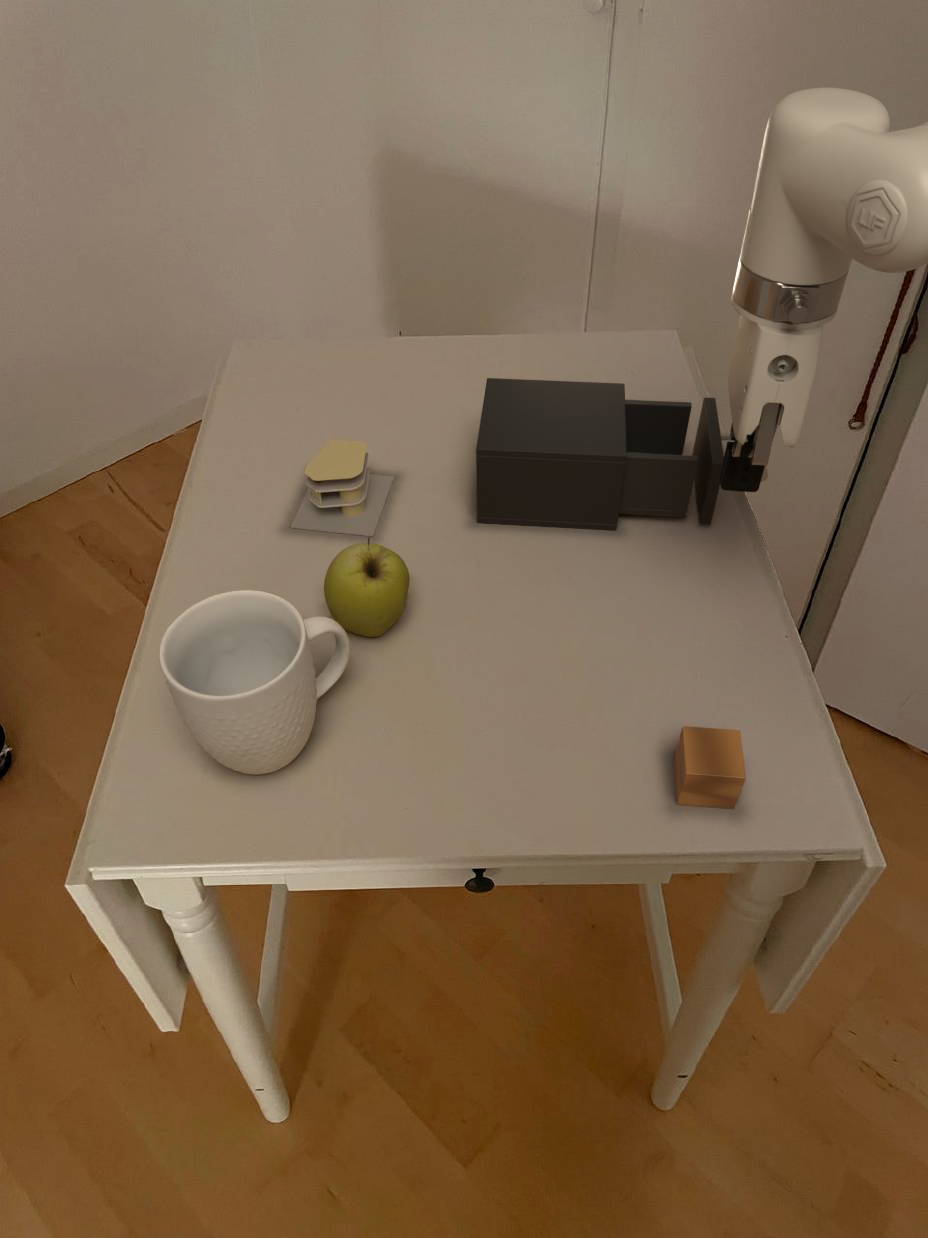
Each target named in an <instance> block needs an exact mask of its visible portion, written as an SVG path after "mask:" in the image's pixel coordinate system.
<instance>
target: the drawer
mask: <svg viewBox="0 0 928 1238" xmlns="http://www.w3.org/2000/svg"><path fill="white" fill-rule="evenodd" d="M716 400H717V399H716V397H707V396H706V397H705V396H704V397H703V400H702V405H701V410H700V415H699V419H698V424H697V430H696V433H695V438H694V439H695V440H694V444H693V449H692V454H691V455H688V454H684V450H685V449H684V448H685V443H686V439H687V433H688V428H689V423H690V418H691V412H692V408H693V406H692V405H693V404H692V402H689V401H669V400H668V401H667V400H666V401H665V400H645V399H643V400H642V399H625V416H626V449H627V458H626V465H625V472H624V479H623V487H622V494H621V501H620V508H619V514H621V515H638V516H639V515H641V516H656V517H662V516H663V517H675V518H676V517H678V518H679V517H680V518H687V514H688V510H689V506H690V502H691V501H690V500H691V496H692V490H693V488H695V491H694V492H695V500H696V508H697V509H696V510H697V518H698V525H702V526H703V525H705V526H711V525H712V521H713V517H714V514H715V508H716V505H717V500H718V496H719V493H720V489H721V485H720V483H721V481H720V472H721V467H722V463H723V458H724V454H725V453H724V448H723V442H722V441H727V442H734V440H730V432H721V429H720V422H719V414H718V407H717V401H716ZM768 478H769V471H768V468H767V466H765V468H764V471H763V475H762V479H761V482H760V483H764V482H765V481H766V480H767V479H768ZM693 486H694V487H693Z"/></svg>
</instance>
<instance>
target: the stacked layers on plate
mask: <svg viewBox="0 0 928 1238" xmlns="http://www.w3.org/2000/svg"><path fill="white" fill-rule="evenodd" d="M367 447H368V443H367V442H360V441H348V440H341V439H340V440H339V439H338V440H337V439H331V440H330V441H329V442H327V444H326V445H325V446H324V447H323V448H322V449H321V450H320V451H319V452H318V453H317V454H316V455H315V456H314V457H313V458H312V459H311V460H310V461H309V462H308V464H307V465H306V467H305V469H304V472H303V473H304V474H305V475H306V476H307V478H306V481H305V484H306V486H308V488H307V490H306V491H305V494H304V497H303V499H302V500H301V503H300V506H299V508H298V510H297V512H296V514H295V516H294V519H293V521H292V523H291V525H290V528H291V529H297V530H307V531H308V530H309V531H319V532H326V533H336V534H346V535H355V536H356V535H357V536H364V537H365V536H366V537H374V536H375V535H374V534H375V532H376V530H377V526H378V523H379V521H380V518H381V515H382V512H383V509H384V507H385V504H386V501H387V499H388V496H389V494H390V491H391V487H392V484H393V482H394V479H395V476H394V475H393V476H392V475H382V474H372V473H371V468H370V467H368V460H369V453H368V452H367Z"/></svg>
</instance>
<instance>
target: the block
mask: <svg viewBox="0 0 928 1238" xmlns="http://www.w3.org/2000/svg"><path fill="white" fill-rule="evenodd" d="M673 763H674V777H675V792H676V795H675V796H676V804H677V805H678V806H689V807H701V808H702V807H703V808H714V809H715V808H716V809H727V810H735V808H736V805H737V803H738V800H739V797H740V795H741V792H742V790H743V788H744V785H745V782H746V779H747V775H746V767H745V759H744V751H743V743H742V735H741V730H740V729H729V728H714V727H701V726H700V727H699V726H686V725H685V726H684V725H683V726H682V727H681V731H680V735H679V738H678V741H677V746H676V750H675V753H674V757H673Z"/></svg>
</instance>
